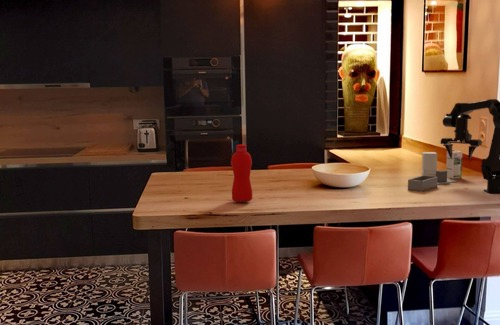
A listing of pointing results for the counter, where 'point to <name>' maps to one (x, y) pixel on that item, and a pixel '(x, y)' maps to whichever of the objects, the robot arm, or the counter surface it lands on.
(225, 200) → the counter surface
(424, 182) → the tub
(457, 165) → the syrup box
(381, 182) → the counter surface
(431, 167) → the supplement box
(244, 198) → the water bottle
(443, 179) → the lid
